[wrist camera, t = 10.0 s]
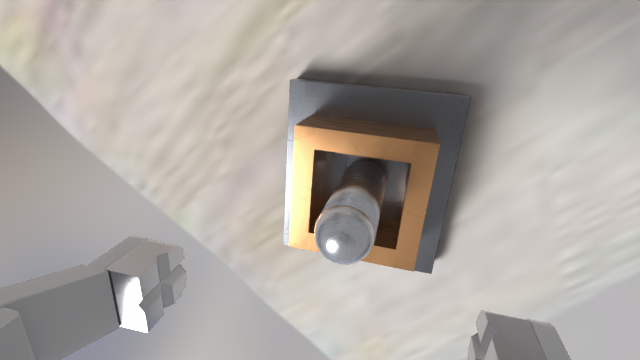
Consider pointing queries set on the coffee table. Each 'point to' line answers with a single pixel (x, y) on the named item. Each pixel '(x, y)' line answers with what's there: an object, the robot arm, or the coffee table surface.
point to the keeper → (375, 165)
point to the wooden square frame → (369, 141)
